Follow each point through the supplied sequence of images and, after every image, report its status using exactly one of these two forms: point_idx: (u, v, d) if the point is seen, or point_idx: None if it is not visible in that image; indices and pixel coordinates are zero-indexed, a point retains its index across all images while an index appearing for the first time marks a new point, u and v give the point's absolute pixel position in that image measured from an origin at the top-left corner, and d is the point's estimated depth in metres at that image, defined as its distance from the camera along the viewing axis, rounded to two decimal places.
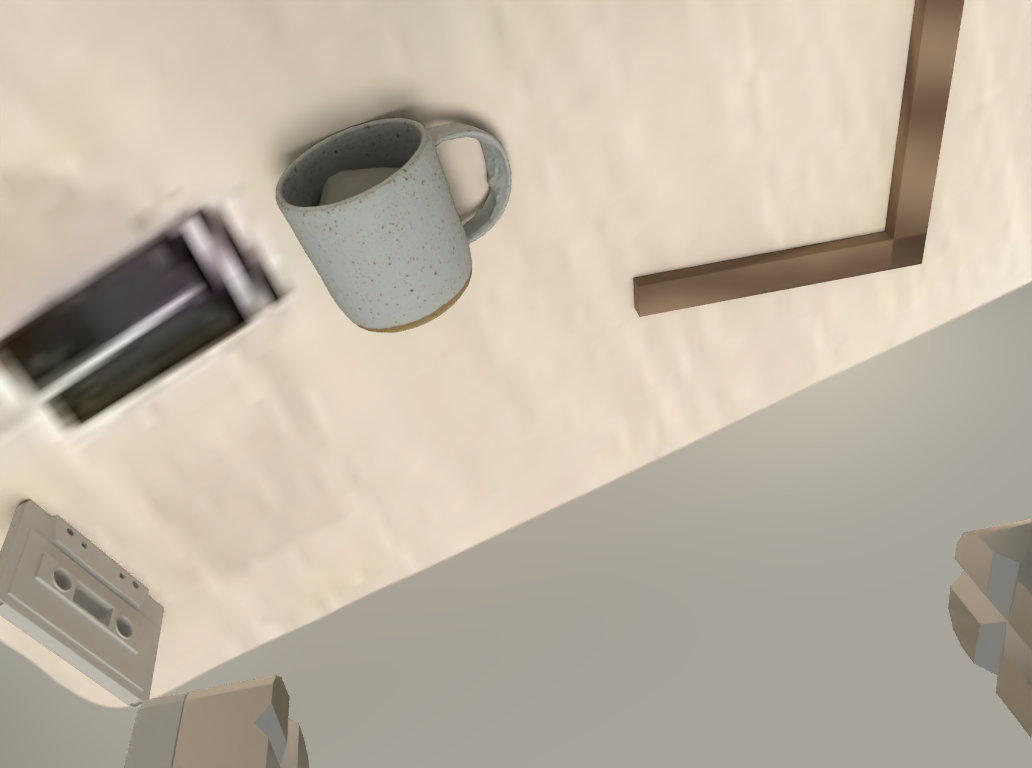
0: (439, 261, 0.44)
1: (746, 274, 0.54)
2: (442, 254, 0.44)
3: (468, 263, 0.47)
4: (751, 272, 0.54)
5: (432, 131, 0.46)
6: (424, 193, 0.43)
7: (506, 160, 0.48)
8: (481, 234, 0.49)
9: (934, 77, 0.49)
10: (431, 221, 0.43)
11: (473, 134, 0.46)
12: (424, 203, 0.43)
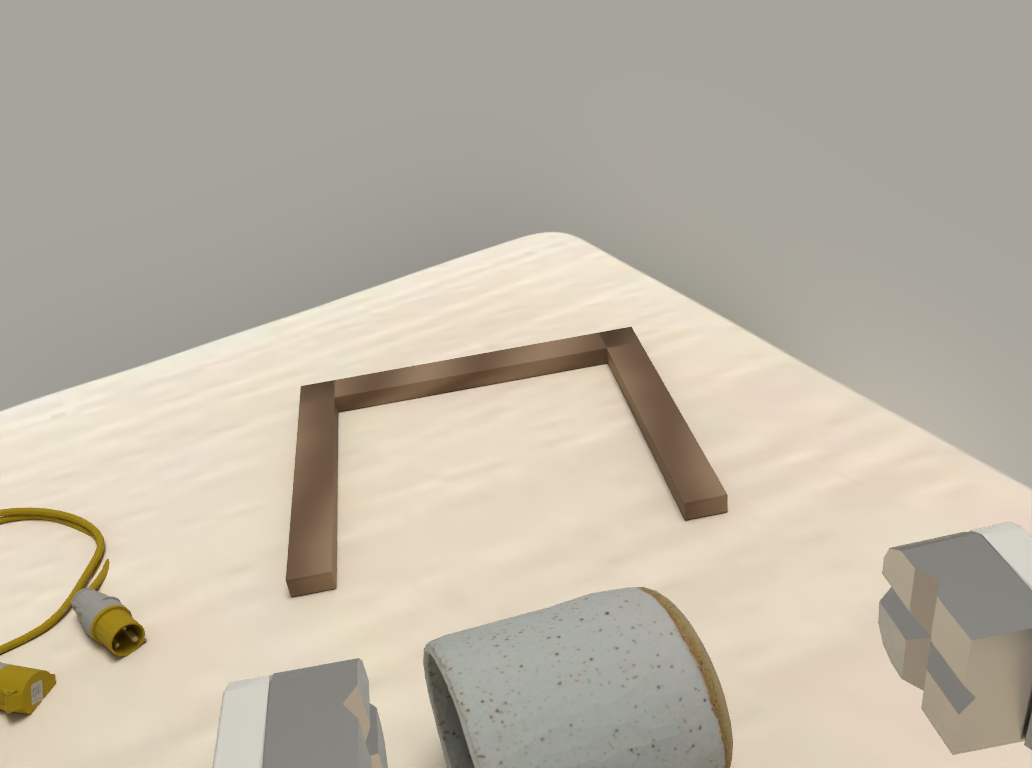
0: (571, 601, 0.31)
1: (656, 426, 0.49)
2: (564, 602, 0.31)
3: None
4: (653, 423, 0.49)
5: None
6: None
7: None
8: None
9: (450, 367, 0.56)
10: (512, 617, 0.31)
11: None
12: (483, 625, 0.31)
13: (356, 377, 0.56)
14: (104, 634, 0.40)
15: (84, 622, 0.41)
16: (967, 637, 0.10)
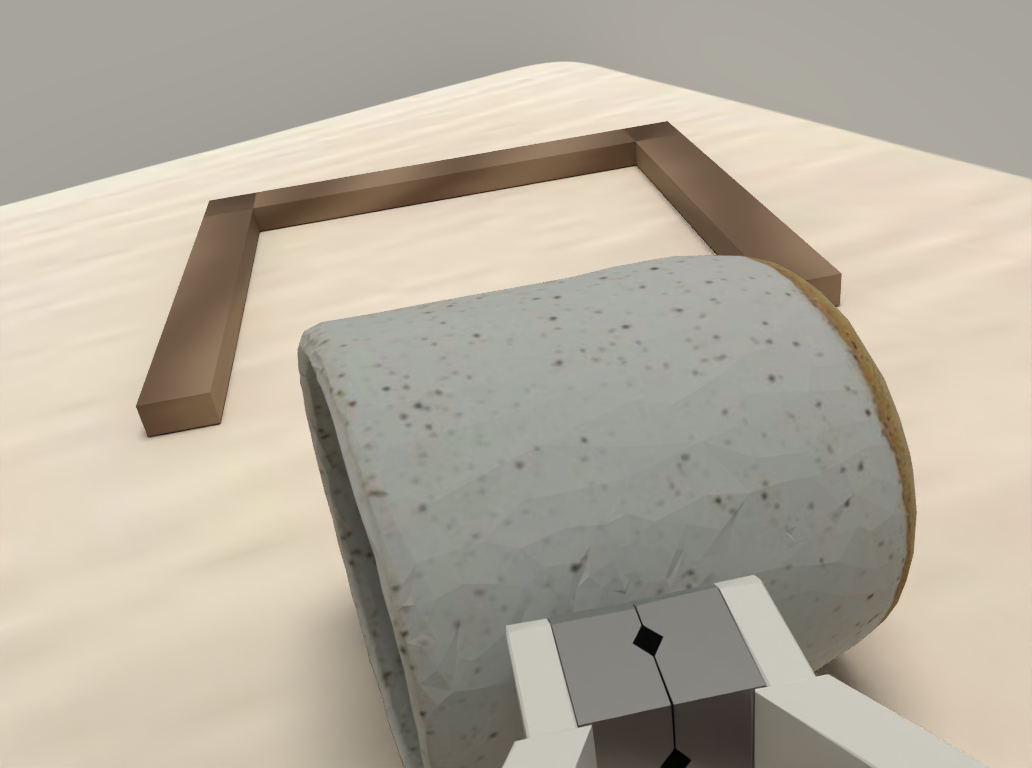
0: None
1: (717, 208, 0.33)
2: None
3: None
4: (712, 206, 0.33)
5: None
6: None
7: None
8: None
9: (417, 171, 0.40)
10: None
11: None
12: None
13: (286, 188, 0.41)
14: None
15: None
16: (671, 701, 0.09)
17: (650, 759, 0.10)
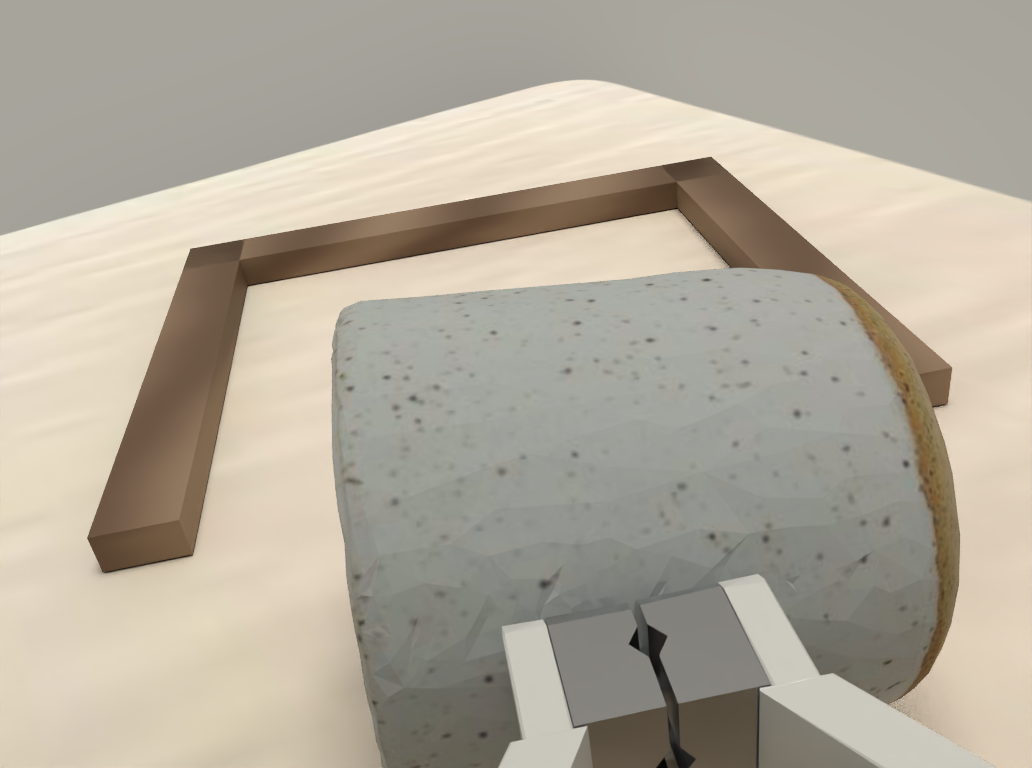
0: None
1: None
2: None
3: None
4: (778, 269, 0.28)
5: None
6: None
7: None
8: None
9: (427, 215, 0.35)
10: None
11: None
12: None
13: (278, 234, 0.36)
14: None
15: None
16: (675, 699, 0.09)
17: (646, 760, 0.10)
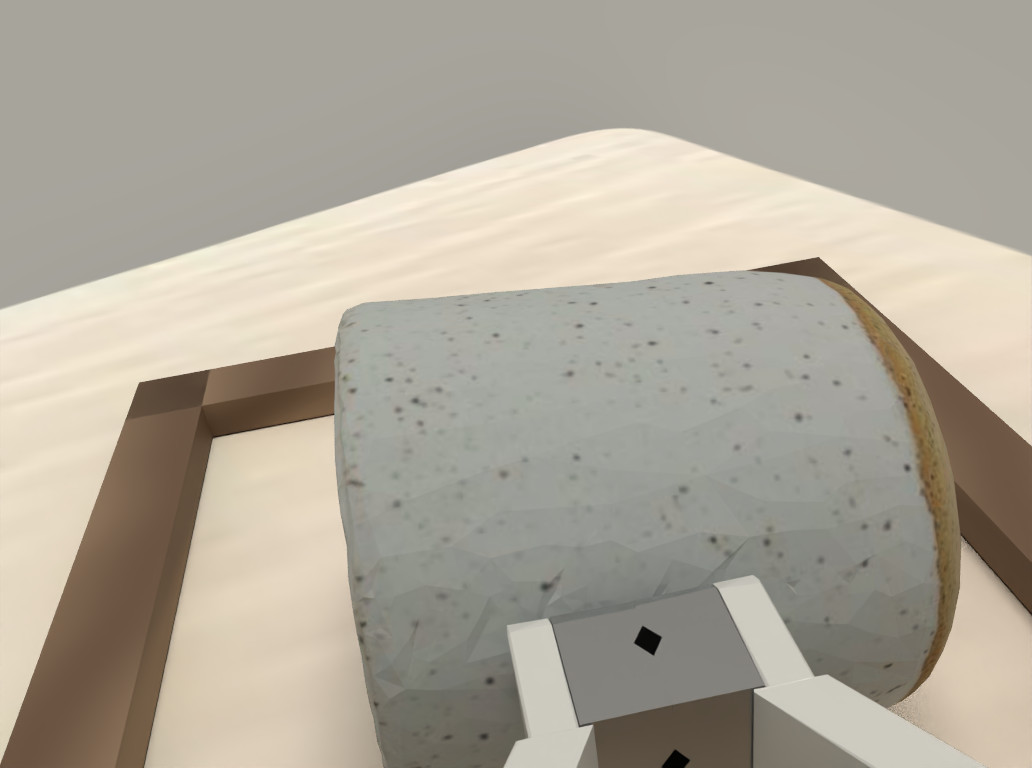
0: None
1: (976, 473, 0.19)
2: None
3: None
4: (965, 466, 0.19)
5: None
6: None
7: None
8: None
9: None
10: None
11: None
12: None
13: (255, 363, 0.27)
14: None
15: None
16: (670, 700, 0.09)
17: (651, 759, 0.10)
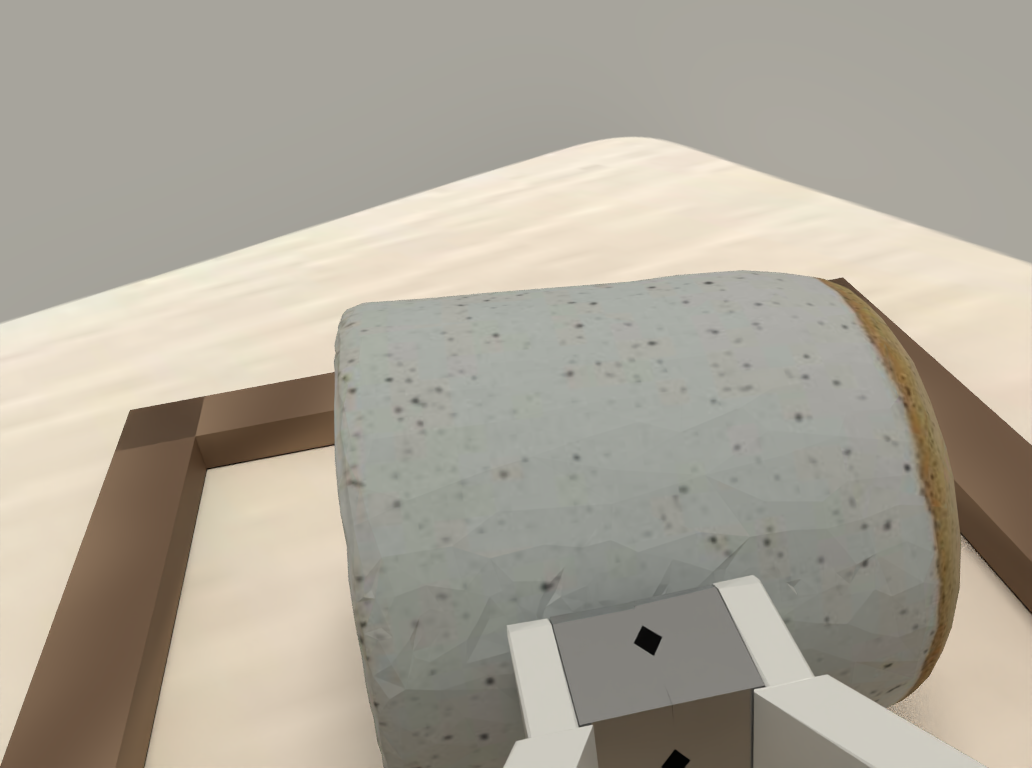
0: None
1: (1024, 520, 0.18)
2: None
3: None
4: (1011, 512, 0.18)
5: None
6: None
7: None
8: None
9: None
10: None
11: None
12: None
13: (252, 390, 0.26)
14: None
15: None
16: (671, 701, 0.09)
17: (651, 759, 0.10)
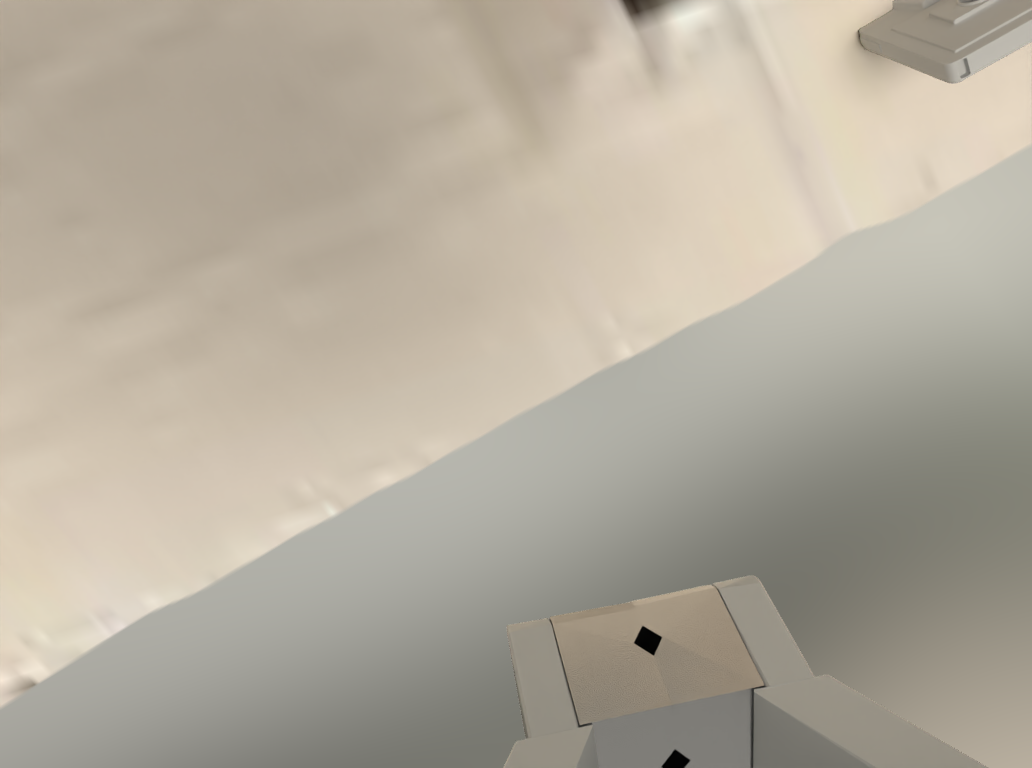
0: None
1: None
2: None
3: None
4: None
5: None
6: None
7: None
8: None
9: None
10: None
11: None
12: None
13: None
14: None
15: None
16: (670, 701, 0.09)
17: (651, 759, 0.10)
